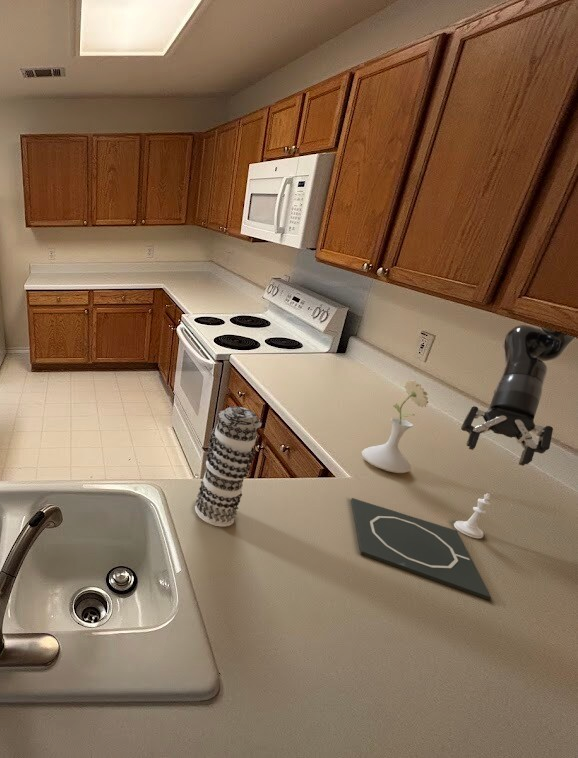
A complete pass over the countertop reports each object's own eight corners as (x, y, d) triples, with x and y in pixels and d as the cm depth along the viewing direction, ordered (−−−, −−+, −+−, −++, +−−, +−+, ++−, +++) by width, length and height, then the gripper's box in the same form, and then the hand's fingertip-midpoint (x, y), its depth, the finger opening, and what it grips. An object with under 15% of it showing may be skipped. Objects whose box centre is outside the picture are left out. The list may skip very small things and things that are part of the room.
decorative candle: (203, 494, 96) (227, 397, 87) (242, 513, 91) (272, 413, 82) (185, 512, 90) (209, 410, 80) (226, 534, 84) (257, 427, 75)
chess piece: (479, 529, 93) (500, 492, 89) (485, 541, 89) (507, 504, 85) (451, 519, 95) (470, 484, 91) (456, 532, 91) (476, 495, 87)
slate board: (455, 533, 91) (456, 530, 90) (489, 600, 74) (491, 597, 74) (350, 500, 99) (352, 497, 98) (360, 554, 82) (361, 550, 82)
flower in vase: (413, 482, 109) (453, 396, 99) (363, 468, 113) (397, 385, 104) (400, 459, 120) (436, 380, 111) (355, 447, 124) (386, 370, 115)
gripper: (481, 380, 99) (460, 437, 95) (567, 400, 90) (549, 464, 86) (471, 395, 105) (451, 449, 101) (551, 415, 96) (533, 475, 92)
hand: (496, 456), depth 94 cm, fingers open, 8 cm apart
